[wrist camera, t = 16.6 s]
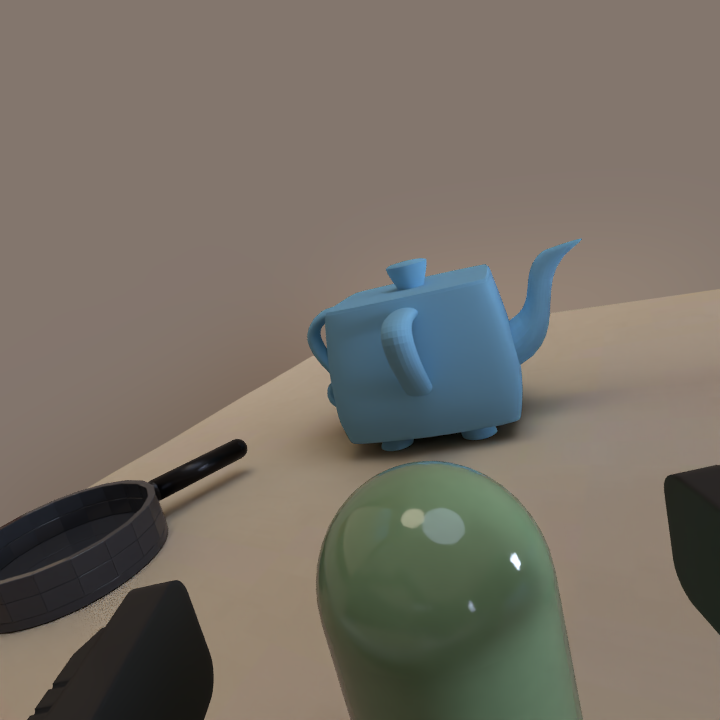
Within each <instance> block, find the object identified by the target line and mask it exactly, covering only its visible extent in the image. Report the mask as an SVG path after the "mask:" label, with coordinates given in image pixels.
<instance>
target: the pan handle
mask: <svg viewBox="0 0 720 720" xmlns="http://www.w3.org/2000/svg"><path fill="white" fill-rule="evenodd" d="M246 453H247V445H246V443H245V442H244V441H242V440H240V439H235V440H232V441H230V442H228V443H226V444H224V445H222V446H220V447H218V448H216V449H214V450H212V451H210V452H208V453H206V454H204V455H202V456H200V457H198V458H196V459H194V460H192V461H190V462H188V463H185V464H183V465H181V466H179V467H177V468H175V469H173V470H171V471H169V472H167V473H165V474H163V475H161V476H159V477H157V478H155V479H153V480H151V481H149V482H148V483H150V484H152V485H153V486H154V488H155V491H156V494H157V497H158V499H159V501H160V500H162V499H164V498H166V497H168V496H170V495H172V494H174V493H175V492H177V491H179V490H181V489H183V488H185V487H187V486H189V485H191V484H193V483H195V482H197V481H198V480H200V479H202V478H204V477H206V476H208V475H210V474H212V473H214V472H216V471H218V470H220V469H221V468H223V467H225V466H227V465H229V464H231V463H233V462H235V461H237V460H239V459H241V458H242V457H244V456H245V454H246Z"/></svg>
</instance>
